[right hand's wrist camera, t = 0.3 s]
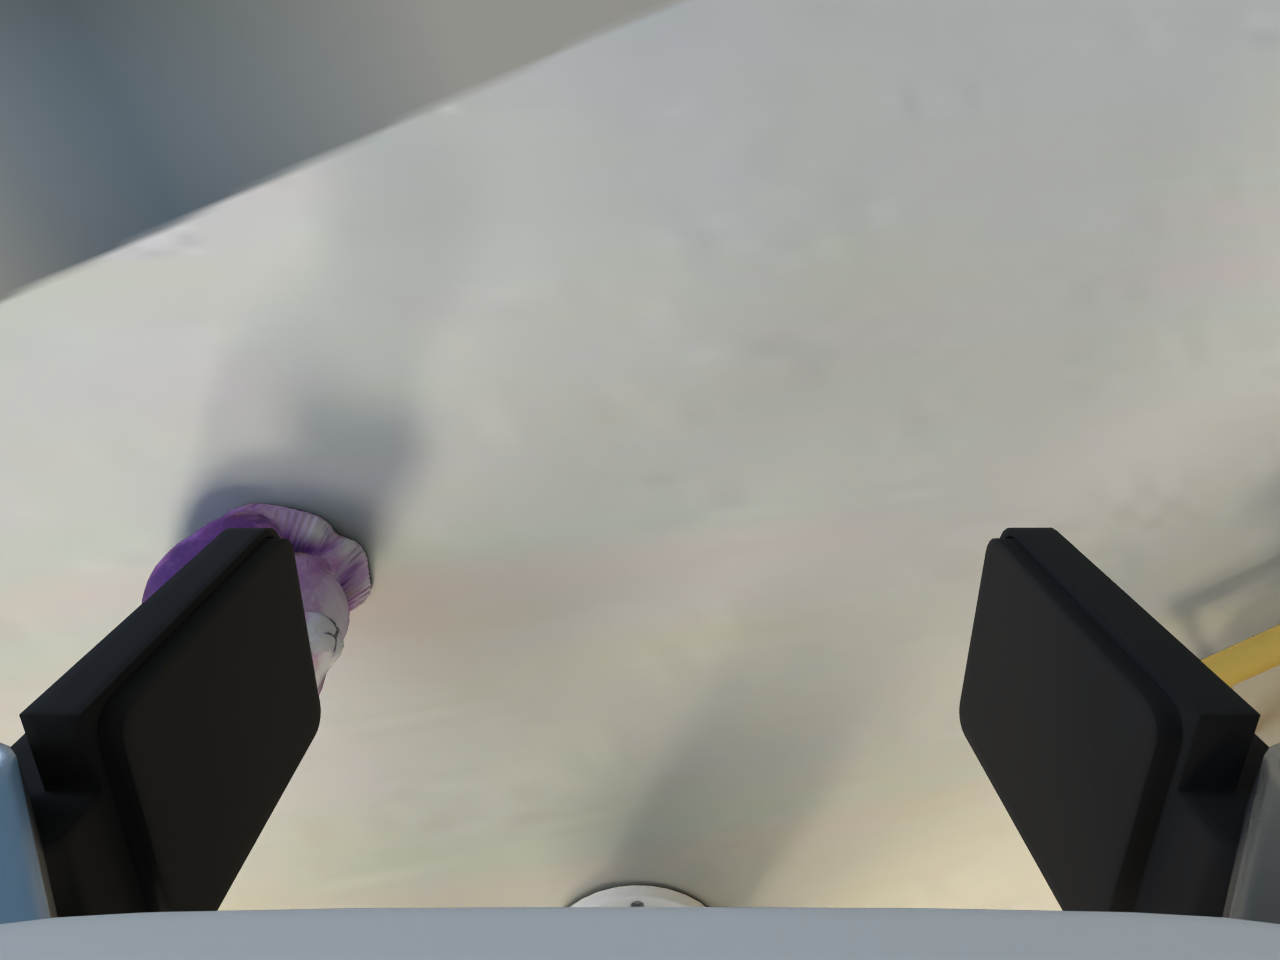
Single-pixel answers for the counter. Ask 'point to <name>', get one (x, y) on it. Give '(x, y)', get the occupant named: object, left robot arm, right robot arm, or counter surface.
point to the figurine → (323, 567)
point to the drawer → (1254, 678)
